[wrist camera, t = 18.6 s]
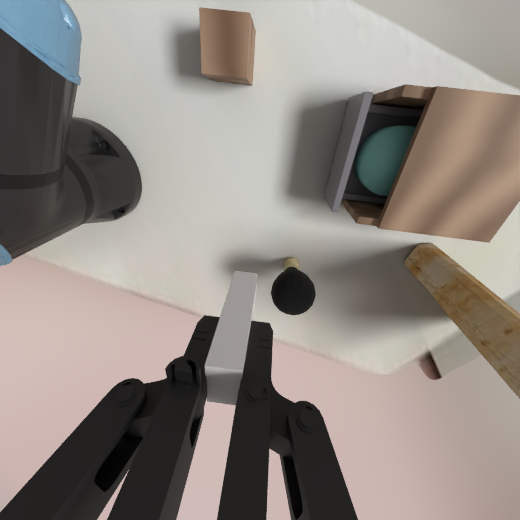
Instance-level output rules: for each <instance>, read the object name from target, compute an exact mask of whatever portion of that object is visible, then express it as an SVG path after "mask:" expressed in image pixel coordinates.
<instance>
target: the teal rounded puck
mask: <svg viewBox="0 0 520 520" xmlns="http://www.w3.org/2000/svg"><path fill="white" fill-rule="evenodd" d="M415 129H416V127H414V126H402V125H391V126H386V127H382V128H380V129H378V130H376V131H374V132H373V133H371V134H370V135H369V136H368V137H367V138H366V139H365V140H364V141H363V142H362V144H361V145H360V147H359V148H358V150H357V153H356V156H355V160H354V171H355V175H356V177H357V179H358V180H359V182H360V183H361V184H362V185H364V186H365V187H366V188H368V189H369V190H370V191H372V192H373V193H375V194H378V195H382V196H389V193H390V191H391V188H392V186H393V184H394V181H395V179H396V176H397V174H398V171H399V169H400V166H401V164H402V161H403V159H404V156H405V154H406V152H407V149H408V147H409V144H410V142H411V139H412V137H413V134H414V132H415Z"/></svg>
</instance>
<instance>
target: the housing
mask: <svg viewBox="0 0 520 520" xmlns="http://www.w3.org/2000/svg"><path fill="white" fill-rule="evenodd" d="M372 105H381V106H390V107H398V108H407V109H416V110H423V112H422V115H421V117H420V120H419V122H418V124H417V127H416V129H415V132H414V134H413V137H412V139H411V142H410V144H409V147H408V149H407V152H406V154H405V156H404V159H403V161H402V164H401V166H400V169H399V171H398V174H397V176H396V179H395V181H394V184H393V186H392V188H391V191H390V193H389V196H388V198H387V201H386V203H385V204H381V203H373V202H365V201H357V200H349V199H343V202H342V204H343V206H344V207H345V208H346V210H347V211H348V212H349V214H350V215H351V216H352V218H353V219H354V220H355V222H356V223H358V224H366V225H374V226H377V227H378V228H380V229H387V230H395V231H403V232H411V233H419V234H427V235H434V236H442V237H450V238H458V239H466V240H474V241H481V242H490V241H491V239H492V238H493V237H494V235H495V234H496V233H497V231H498V230H499V228H500V227H501V226H502V224H503V223H504V222H505V220H506V219H507V217H508V216H509V215H510V213H511V212H512V211H513V209H514V208H515V206H516V205H517V204H518V202H519V201H520V96H519V95H510V94H501V93H492V92H483V91H474V90H466V89H457V88H448V87H439V86H437V87H433V88H432V87H423V86H414V85H403V86H400V87H396V88H393V89H390V90H387V91H384V92H381V93H378V94H375V96H374V99H373V103H372Z"/></svg>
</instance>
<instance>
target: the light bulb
mask: <svg viewBox="0 0 520 520" xmlns="http://www.w3.org/2000/svg"><path fill="white" fill-rule="evenodd" d="M271 295H272V299H273V302H274V304H275V306H276V307H277V308H278V309H279V310H280V311H282V312H284V313H286V314H290V315H298V314H301V313H304V312H306V311H307V310H308V309H309V308H310V307H311V306H312V305H313V302H314V299H315V288H314V284H313V282H312V281H311V280H310V279H309V277H308V276H307V275H306V274H304V273H303V272H301V271H299V263H298V260H297V259H295V258H288V259H287V260H286V261H285V262H284V272H282V273H281V274H280V275H279V276H278V277H277V279H276V280H275V281H274V283H273V286H272V291H271Z"/></svg>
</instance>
